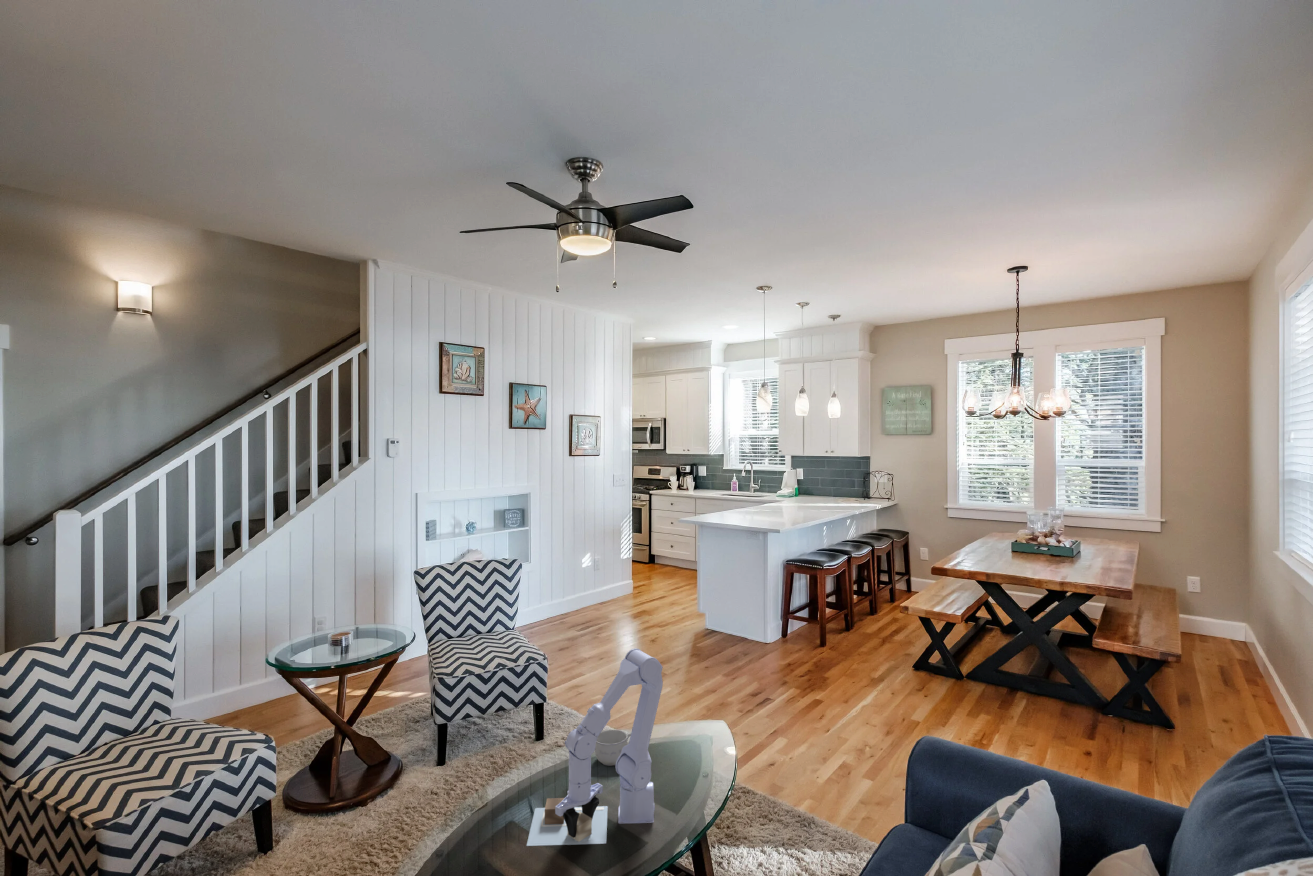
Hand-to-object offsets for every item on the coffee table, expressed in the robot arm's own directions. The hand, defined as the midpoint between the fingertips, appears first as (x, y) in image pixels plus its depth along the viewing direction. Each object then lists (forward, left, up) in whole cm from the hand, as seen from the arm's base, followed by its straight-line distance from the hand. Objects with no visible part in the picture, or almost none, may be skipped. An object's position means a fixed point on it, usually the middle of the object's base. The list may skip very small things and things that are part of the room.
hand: (579, 831), depth 160 cm
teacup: (-9, -38, -2) cm, 39 cm away
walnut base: (+7, -7, -1) cm, 10 cm away
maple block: (0, 0, -1) cm, 1 cm away
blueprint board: (+3, -4, -1) cm, 5 cm away
